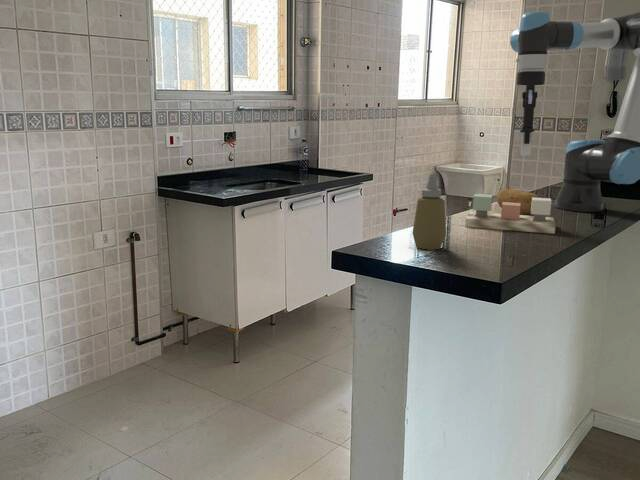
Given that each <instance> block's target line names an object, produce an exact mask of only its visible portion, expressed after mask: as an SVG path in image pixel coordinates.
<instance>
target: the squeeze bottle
mask: <svg viewBox="0 0 640 480" xmlns="http://www.w3.org/2000/svg"><path fill="white" fill-rule="evenodd" d="M428 177H429V178H428V180H427V185H426V188H425V187H424V188H422V189H421V197H418V199H417V200H416V210H415V215H414V220H413V221H414V222H413V228H412V237H413V240H414V244H415V247H416V248H417V247H418V248H417V249H420V248H422V249H421V250H424V249H427V250H426V251H436V250H435V249H437V250H439V248H440V249H441V248H442V245H443V242H444V240H445V238H446V234H447V231H446V207H445V204H446V202H445V200H444V199H443V198H442V189H440V188H438V186H437V178H436V174H435V173H429V176H428Z"/></svg>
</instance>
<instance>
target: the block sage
mask: <svg viewBox="0 0 640 480" xmlns="http://www.w3.org/2000/svg"><path fill="white" fill-rule="evenodd" d="M492 204H493V194H483V193H475V194H473V199H472V210H473V211H475V212H476V217H487V213H488V212H491V210H492Z"/></svg>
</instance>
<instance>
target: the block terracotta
mask: <svg viewBox="0 0 640 480" xmlns="http://www.w3.org/2000/svg"><path fill="white" fill-rule="evenodd" d="M520 206H521V203H511V202H502V208H501V213H500V214H501V218H502V219H515V220H519V216H520Z"/></svg>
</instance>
